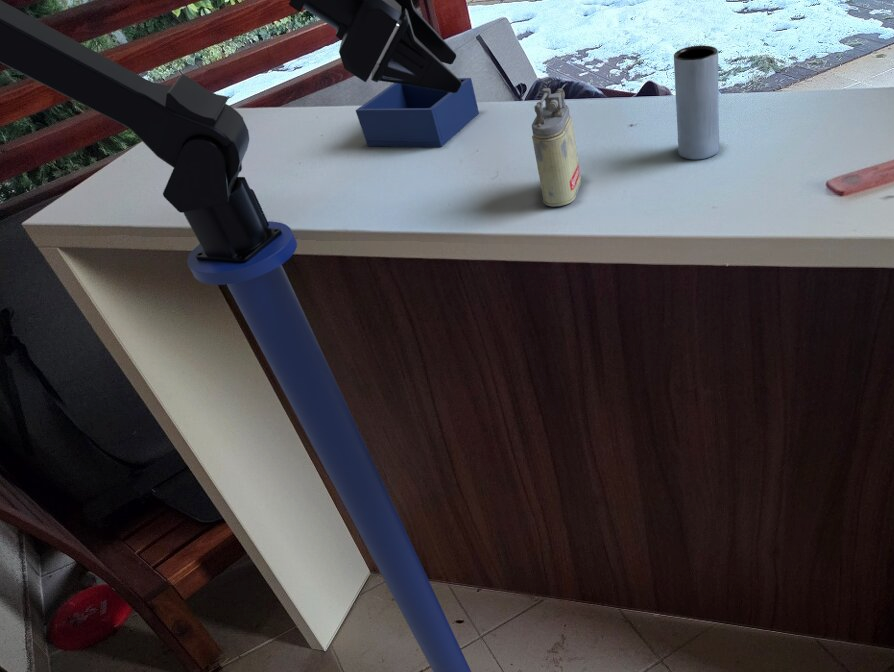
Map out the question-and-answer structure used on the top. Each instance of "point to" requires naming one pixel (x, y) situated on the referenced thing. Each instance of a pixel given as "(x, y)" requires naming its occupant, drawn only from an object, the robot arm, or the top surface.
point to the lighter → (555, 150)
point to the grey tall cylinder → (697, 101)
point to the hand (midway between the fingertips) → (456, 73)
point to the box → (417, 115)
